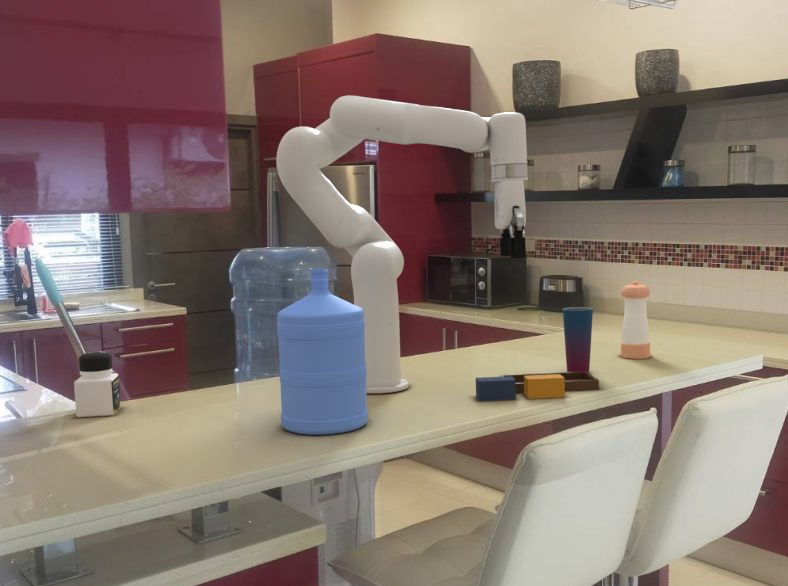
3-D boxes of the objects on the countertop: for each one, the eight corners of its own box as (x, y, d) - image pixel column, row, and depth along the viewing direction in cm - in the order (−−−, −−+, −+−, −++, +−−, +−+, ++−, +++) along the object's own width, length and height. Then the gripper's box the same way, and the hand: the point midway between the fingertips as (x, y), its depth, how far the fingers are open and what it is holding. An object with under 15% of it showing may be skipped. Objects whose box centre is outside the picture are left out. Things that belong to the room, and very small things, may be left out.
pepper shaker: (655, 355, 219) (655, 280, 217) (641, 359, 214) (641, 282, 212) (629, 353, 224) (629, 279, 222) (615, 357, 219) (615, 281, 216)
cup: (591, 370, 201) (591, 306, 200) (594, 376, 195) (594, 310, 193) (562, 370, 202) (561, 307, 200) (564, 376, 195) (563, 310, 194)
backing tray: (508, 393, 179) (508, 384, 179) (500, 383, 189) (499, 374, 189) (599, 389, 181) (599, 380, 180) (585, 380, 191) (585, 371, 190)
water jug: (384, 427, 153) (379, 269, 150) (302, 441, 145) (295, 275, 142) (344, 411, 167) (339, 266, 163) (267, 423, 158) (260, 271, 155)
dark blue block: (478, 401, 172) (478, 381, 172) (475, 396, 176) (475, 377, 176) (515, 399, 173) (515, 379, 173) (512, 395, 177) (511, 376, 177)
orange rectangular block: (528, 398, 173) (527, 379, 173) (524, 394, 177) (523, 375, 177) (564, 397, 174) (564, 377, 173) (559, 393, 178) (559, 374, 177)
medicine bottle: (114, 415, 168) (110, 354, 167) (76, 417, 167) (71, 356, 165) (121, 407, 175) (117, 349, 174) (84, 409, 174) (80, 351, 172)
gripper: (484, 177, 186) (487, 256, 188) (499, 172, 169) (503, 259, 171) (518, 175, 187) (521, 254, 189) (537, 170, 170) (540, 257, 172)
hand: (512, 256), depth 180 cm, fingers open, 9 cm apart
